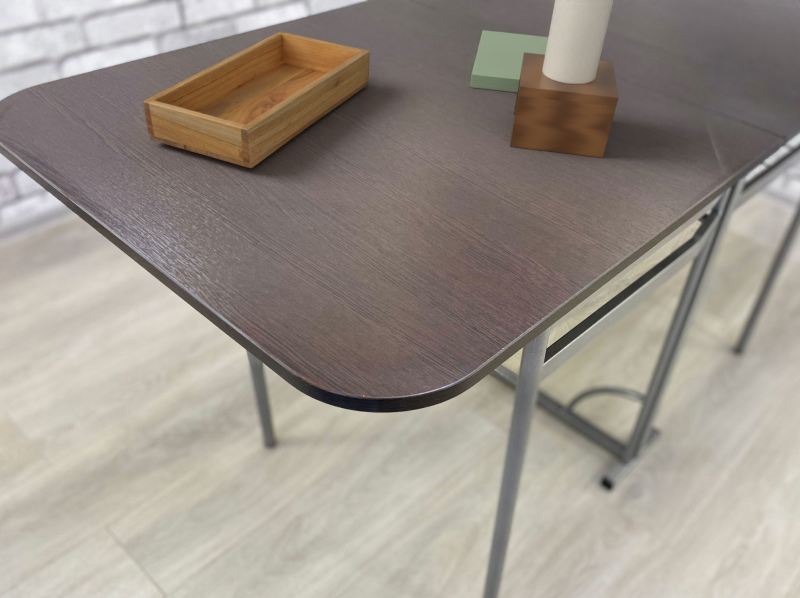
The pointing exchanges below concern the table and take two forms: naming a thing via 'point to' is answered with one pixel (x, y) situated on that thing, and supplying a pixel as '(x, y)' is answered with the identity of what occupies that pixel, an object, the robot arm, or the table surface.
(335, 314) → the table surface
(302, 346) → the table surface
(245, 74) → the tray
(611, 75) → the wood grain cuboid
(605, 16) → the cylinder
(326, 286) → the table surface
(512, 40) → the sage green flat slab
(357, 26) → the table surface
